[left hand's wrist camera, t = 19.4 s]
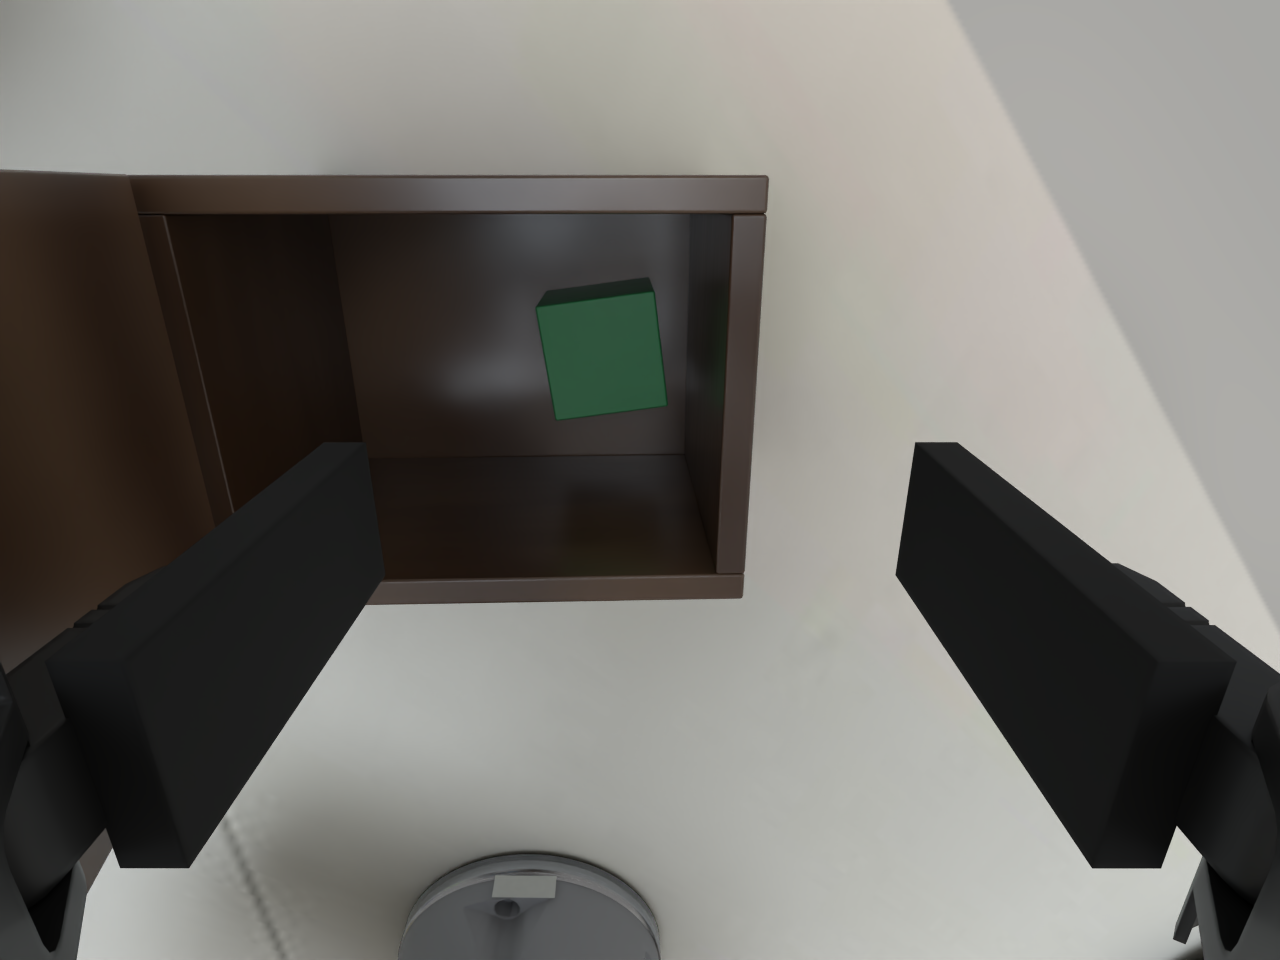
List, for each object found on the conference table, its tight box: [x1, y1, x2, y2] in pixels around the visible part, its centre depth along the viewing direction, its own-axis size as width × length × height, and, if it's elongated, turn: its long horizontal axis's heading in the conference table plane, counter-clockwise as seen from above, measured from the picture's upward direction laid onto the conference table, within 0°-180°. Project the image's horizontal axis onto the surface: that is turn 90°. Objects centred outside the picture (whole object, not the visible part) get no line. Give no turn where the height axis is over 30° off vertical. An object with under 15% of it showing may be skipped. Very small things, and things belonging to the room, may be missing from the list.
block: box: [535, 277, 668, 421], centre depth 27 cm, size 4×4×4 cm
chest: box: [128, 175, 769, 605], centre depth 24 cm, size 15×12×11 cm
